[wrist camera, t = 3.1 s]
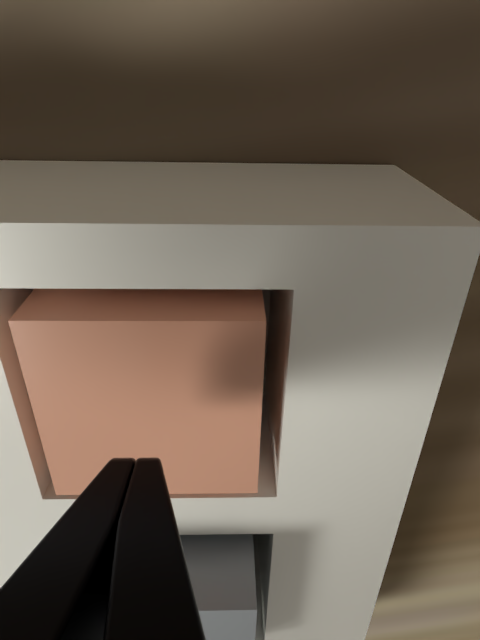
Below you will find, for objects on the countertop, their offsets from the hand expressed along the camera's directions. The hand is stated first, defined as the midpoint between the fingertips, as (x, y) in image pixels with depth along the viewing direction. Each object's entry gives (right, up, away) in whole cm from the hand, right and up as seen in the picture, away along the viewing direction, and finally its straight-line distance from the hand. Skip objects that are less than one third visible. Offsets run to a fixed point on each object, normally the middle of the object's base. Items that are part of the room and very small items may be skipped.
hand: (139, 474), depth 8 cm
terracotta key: (0, +3, +5) cm, 6 cm away
